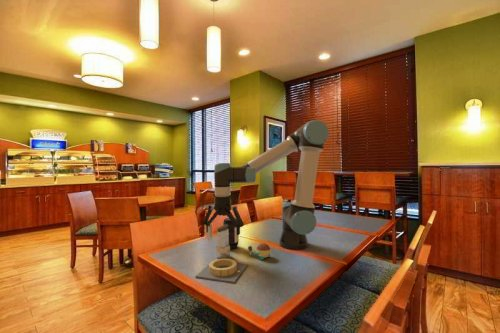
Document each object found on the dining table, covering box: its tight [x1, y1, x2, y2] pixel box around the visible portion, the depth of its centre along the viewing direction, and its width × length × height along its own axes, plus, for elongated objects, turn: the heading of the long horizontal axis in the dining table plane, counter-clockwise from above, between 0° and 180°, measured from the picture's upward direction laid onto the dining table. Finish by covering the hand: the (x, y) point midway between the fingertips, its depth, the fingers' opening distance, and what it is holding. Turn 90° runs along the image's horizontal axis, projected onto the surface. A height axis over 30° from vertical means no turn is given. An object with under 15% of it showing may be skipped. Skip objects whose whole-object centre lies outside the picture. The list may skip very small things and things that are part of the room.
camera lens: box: [222, 217, 239, 251], centre depth 123 cm, size 8×8×15 cm
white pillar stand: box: [215, 224, 231, 260], centre depth 111 cm, size 6×9×14 cm
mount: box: [195, 258, 248, 284], centre depth 96 cm, size 16×16×3 cm
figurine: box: [247, 242, 272, 261], centre depth 111 cm, size 7×10×7 cm
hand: (223, 240), depth 111 cm, fingers open, 13 cm apart
